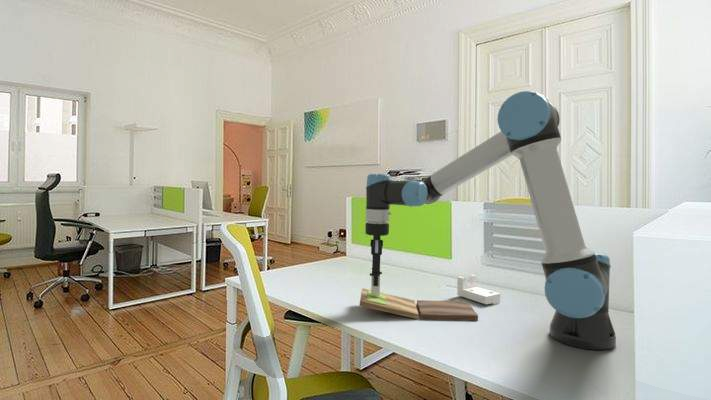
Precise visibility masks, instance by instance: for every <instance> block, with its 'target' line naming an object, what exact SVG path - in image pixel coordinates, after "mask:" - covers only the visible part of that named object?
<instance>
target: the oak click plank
mask: <svg viewBox="0 0 711 400" xmlns="http://www.w3.org/2000/svg"><path fill="white" fill-rule="evenodd" d="M359 306H360V307H364V308H368V309H373V310H377V311H380V312H384V313H385V312H386V313H390V314H394V315H397V316H398V315H399V316H403V317H407V318H411V319H415V320H418V318H419V310H418V307H417V303H416V301H415V299H410V298H405V297H401V296H397V295H392V294H388V293H384V292H380V296H371V289H366V288H362V289H361V292H360V300H359Z"/></svg>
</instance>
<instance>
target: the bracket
mask: <svg viewBox="0 0 711 400" xmlns="http://www.w3.org/2000/svg"><path fill="white" fill-rule="evenodd" d="M456 278H457V279H456V280H457V283H456V285H457V287H456V289H457V290H456V292H457V293H456V295H457V296H460V297H463V298H466V299H469V300H471V301H475V302H477V303H481V304H483V305H497V304H498V305H499V304H500V303H501V293H499V292H497V291H492V290H490V289H485V288H482V287H478V285H477V283H478V282H477V279H478V277H477V275H474V274H469V276H468V278H467V280H466V278H465V277H463V276H457V277H456Z"/></svg>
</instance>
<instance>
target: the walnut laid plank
mask: <svg viewBox="0 0 711 400" xmlns="http://www.w3.org/2000/svg"><path fill="white" fill-rule="evenodd" d="M416 308H417V311H418V314H419V315H420V319H421V320H436V321H437V320H439V321H440V320H441V321H442V320H443V321H479V315H478V314H477V313H478V312H476V311H475V309H474V308H473V307H472V305H471V304H470V302H469V301H468V300H467V301H466V300H463V301H462V300H426V299H425V300H424V299H423V300H421V299H418V300H416Z"/></svg>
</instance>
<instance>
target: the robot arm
mask: <svg viewBox="0 0 711 400" xmlns="http://www.w3.org/2000/svg"><path fill="white" fill-rule="evenodd" d="M559 113H560V112H559V111H558V109H557V107H556V106H555V105H554V104H553V103H551V102H550V101H549V100H548V98H547V97H546V96H544V94H541V93H540V92H535V91H532V90H525V91H524V90H523V91H519V92H516V93H514V94H511V95H510V96H509V97H507V99H505V101H504V102H502V104H501V106H500V108H499V110H498V114H497V125H498V127H499V130H500V131H499V132H498V133H496V134H494V135H493V136H491V137H489V138H488V139H486V140H485V141H483V142H481V143H480V144H479V145H476V146H475V147H474V148H471V150H468V151H467V152H466V153H464V154H463V155H461V156H459V157H458V158H455V159H454V160H452V161H451V162H450V163H447V165H444V166H443V167H442V168H439V169H438V170H437V171H435V172H433V173H432V174H430V175H429V176H427V177H425V178H424V179H422V180H392V178H391V175H390V174H388V173H369V174H367V176H366V186H365V190H366V191H365V192H366V193H365V194H366V195H365V196H366V202H365V203H366V206H365V218H364V219H365V220H364V221H365V222H366V223H365V225H364V226H365V228H364V229H365V232H364V234H366V235H368V236H372V239H370V247H371V249H370V254H371V255H372V262H371V263H372V264H371V265H372V266H371V273H370V272H369V276H370V277H371V286H370V287H371V288H370V290H371V296H380V293H381V291H380V290H381V287H380V286H381V275H383V272H382V271H381V256H382V254H383V246H384V240H383V239H381V237H382V236H383V237H384V236H388V235H389V234H390V224H389V223H388V222H389V221H390V216H392V212H391V211H390V206H391V205H392V206H393V205H394V206H395V205H396V206H405V207H406V206H408V207H410V208H412V207H422V206H423V205H431V204H432V203H436V202H438V201H439V199H440V198H441V197H442V196H444V195H445V194H446V193H449V192H450V191H452V190H453V189H456V188H457V187H459V186H461V185H463V184H464V183H466V182H467V181H470V180H472V179H474V178H475V177H476V176H478V175H481V174H482V173H484V172H485V171H488V170H489V169H491V168H492V167H494V166H495V165H496V166H497V164H499V163H501V162H503V161H504V160H506V159H508V158H509V157H511V156H512V157H515V158H517V159H518V160H519V162H520V166H521V170H522V173H523V178H524V180H525V183H526V187H527V191H528V196H529V199H530V203H531V206H532V210H533V212H534V216H535V220H536V223H537V227H538V230H539V234H540V237H541V241H542V244H543V249H544V252H545V254H544V256H543V257H542V258H541V260H540V263H541V266H542V270H543V271H542V272H543V274H544V277H545V282H544V287H543V288H544V295H545V298H546V300H547V302H548V304H549V306H551V307H552V308H553V309H554V310H555V311H554V314H553V317H552V319H551V322H550V324H549V335H550V337H551V338H553V339H555V340H556V341H557V342H560V343H562V344H565V345H567V346H571V347H574V348H579V349H585V350H593V351H605V350H606V351H607V350H610V349H613V348H615V347H616V346H617V345H616V343H617V335H616V332H615V329H614V326H613V322H612V320H611V317H610V313H609V311H610V310H609V308H610V305H609V304H610V275H611V272H610V271H611V270H610V269H611V267H612V265H611V259H610V257H609V256H608V255H606V254H604V253H595V251H594V250H592V249H590V248H589V247H587V246H586V243H585V241H584V238H583V234H582V230H581V227H580V223H579V221H578V217H577V213H576V209H575V206H574V204H573V200H572V196H571V192H570V189H569V186H568V183H567V179H566V176H565V172H564V168H563V165H562V163H561V158H560V155H559V152H558V147H559V145H560V143H561V142H562V136H561V133H560V129H559V125H560V120H561V118H560V114H559Z"/></svg>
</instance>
